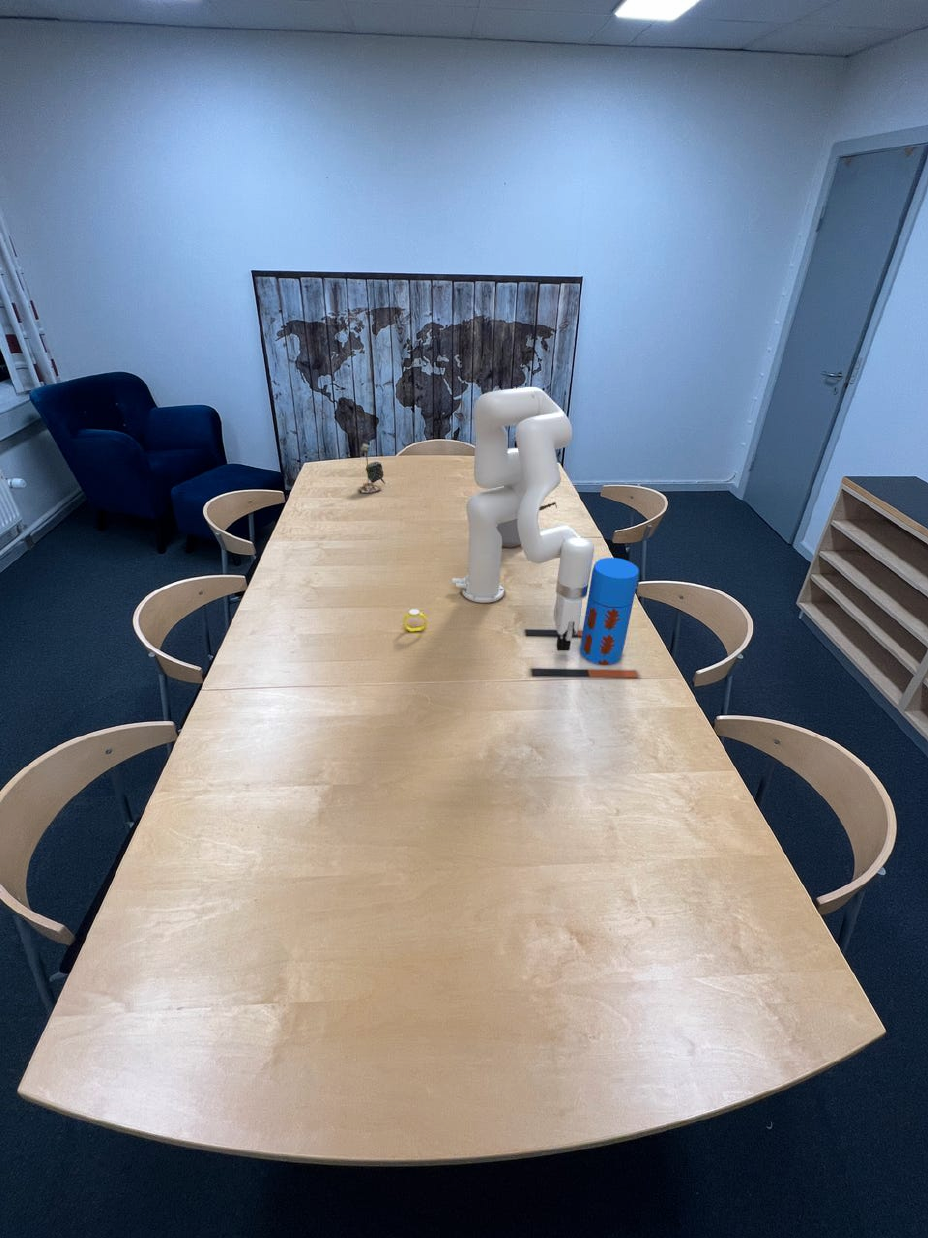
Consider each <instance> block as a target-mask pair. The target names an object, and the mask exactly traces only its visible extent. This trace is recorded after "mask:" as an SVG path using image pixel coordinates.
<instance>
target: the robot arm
mask: <svg viewBox="0 0 928 1238" xmlns="http://www.w3.org/2000/svg"><path fill="white" fill-rule="evenodd" d="M473 405H474V406H473V410H472V421H473V426H474V433H475V443H474V456H473V457H474V461H473V478H474V479H473V480H474V482H475V484H476V485H477V486H478V487H479V488H481V489H485V490H484V491H479V492H477V493H475V494H473V495H472V496H471V497H469V498H468V500H467V502H466V505H465V506H466V509H465V510H466V516H467V524H468V556H467V574H466V575H465V577H462V578H457V577H456V578H455V577H453V578H451V579H452V580H451V581H452V582H451V585H452V586H455V588H456V589H461V593H462V595H463V597H465V598H466V599H467V600H469V601H472V602H474V603H481V604H486V603H493V602H494V603H495V602H497V601H499V600H501V599H502V598H503V597H504V595H505V589H504V586H503V585H502V584H500V579H501V563H502V552H503V550H502V549H503V546H502V537H501V534H500V533H499V531H498V530H497V528H496V527H497V525H498V524H500V523H503V522H507V521H511V520H514V519H517V518H518V519H517V527H518V533H519V537H520V542H521V544H520V546H521V549H522V552H523V554H524V556H525V558H526V559H527V560H528V562H531V563H533V564H542V563H546V562H550V561H553V560H555V559H559V564H558V572H557V579H556V585H555V586H556V587H555V594H556V597H555V603H554V609H553V621H554V625H555V630H557V632H558V636H557V639H556V650H557V651H563V652H565V651H566V652H567V651H570V650H571V644H572V643H571V642H572V639H573V637H572V633H573V632H574V634H575V635H576V634H577V633H578V631H579V628H580V622H581V616H582V607H583V599H585V598H586V597H588V596H587V595H588V591H589V590H588V589H589V585H590V579H591V573H592V567H593V566H592V565H593V560H594V554H595V545H594V544H593V542H592V541H591V540H589V539H587V538H586V537H582V536H581V534H579V533H578V532H577V531H576V530H575V529H574V528H573V527H572V526H570V525H568V524H561V525H555V526H552V527H549V528H545V529H541V530H540V527H539V514H540V511H539V509H540V507H541V506H542V504H543V503H544V501H545V500H546V499H547V497H548V496H549V495H550V494H551V493H552V492H553V491H554V490H555V489H557V487H559V485H560V484H561V481H562V478H561V473H560V468H559V463H558V459H557V453H556V450H558V449H560V450H561V449H563V448H566V447H567V446H569V445H570V444H571V441H572V439H573V425H572V423H571V421H570V419H569V417H568V416H567V415H566V413H565V412H564V411H563V409H562V408H561V407H560V406H559V405H558V404H557V403H556V402H555V401H554V400H553V399H552V398H551V397H550V396H549V395H548V394H547V393H546V392H545V391H544V390H543V389H541V388H539V387H535V386H525V387H516V388H505V389H498V390H494V391H488V392H486V393H483V394H481V395H480V396H479V397H478V398H477V399H476V401H475V403H474V404H473ZM510 426H516V428H515V431H514V436H515V442H516V447H509V445H508V444H509V435H508V431H507V430H506V428H505V427H510Z"/></svg>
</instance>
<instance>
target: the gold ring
mask: <svg viewBox="0 0 928 1238" xmlns="http://www.w3.org/2000/svg"><path fill="white" fill-rule="evenodd" d="M418 616H419V617H421V618H422V619H423V620H424V621H423V624H422V625H421V626H418V627H410V626H408V624H407V623H406V622H407V619H408V618H409V617H412V618H413V617H418ZM403 626H404V628H405V630H407V631H408V632H422V631H423V630H424V629H425V628H426V626H427V617H426V615H424V613H423V612H420V610H419V609H416V608H413V609H410V610H409V611H408V613H406V614H405V615H404V616H403Z"/></svg>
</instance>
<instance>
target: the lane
mask: <svg viewBox="0 0 928 1238" xmlns="http://www.w3.org/2000/svg"><path fill="white" fill-rule="evenodd" d="M582 632H583V630H578V633H577V634H576V635H575V634H574V632H573V633H572V638H582ZM525 636H526V637H558V632H557V629H526V628H525ZM531 675H532V677H565V678H567V677H568V678H611V679H612V678H614V679H615V678H616V679H638V678H639V676H638V673H637V671H636V670H621V669H619V670H618V669H617V670H616V669H571V668H570V669H569V668H568V669H566V668H563V669H562V668H531Z"/></svg>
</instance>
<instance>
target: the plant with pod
mask: <svg viewBox="0 0 928 1238" xmlns="http://www.w3.org/2000/svg"><path fill="white" fill-rule="evenodd" d="M370 448H371V446H370V444H367V443H362V445H361V447H360V452H359V454H360V455H361V454H362V453H364V454H365V458H366V467H365V472H366V476H367V479H368V481H370V482H363V486H360V487H358V489H359V493H363V494H367V493H371V494H372V493H375V492H378V491H380V488H379V487H378V486H377V485H374V483H376V482H377V481H381V482H382V484H384V485H386V482H385V480H384V479H383V478H384V471H383V466H382V462H380V461H377V460H376V461H374V462H373V461H372V462H370V463H369V460H368V459H369V458H368V453H369V452H370Z"/></svg>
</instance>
